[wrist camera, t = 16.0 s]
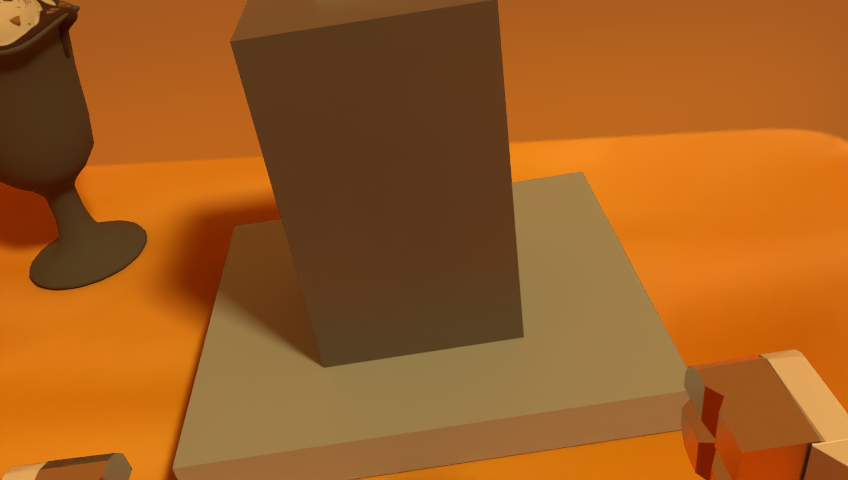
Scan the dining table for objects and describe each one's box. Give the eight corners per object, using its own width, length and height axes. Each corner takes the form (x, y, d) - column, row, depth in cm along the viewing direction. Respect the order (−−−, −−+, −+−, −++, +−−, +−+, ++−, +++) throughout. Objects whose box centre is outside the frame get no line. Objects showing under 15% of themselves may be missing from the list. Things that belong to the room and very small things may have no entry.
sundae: (138, 295, 29) (-48, -122, 21) (-21, 310, 30) (-263, -89, 21) (187, 207, 35) (56, -152, 26) (51, 221, 35) (-119, -125, 27)
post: (189, 503, 20) (69, 261, 16) (244, 256, 30) (180, 63, 26) (694, 428, 20) (720, 160, 16) (582, 203, 30) (579, 0, 26)
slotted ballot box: (324, 367, 22) (226, 28, 16) (330, 253, 27) (257, -38, 21) (524, 337, 22) (496, -15, 16) (493, 228, 27) (463, -70, 21)
